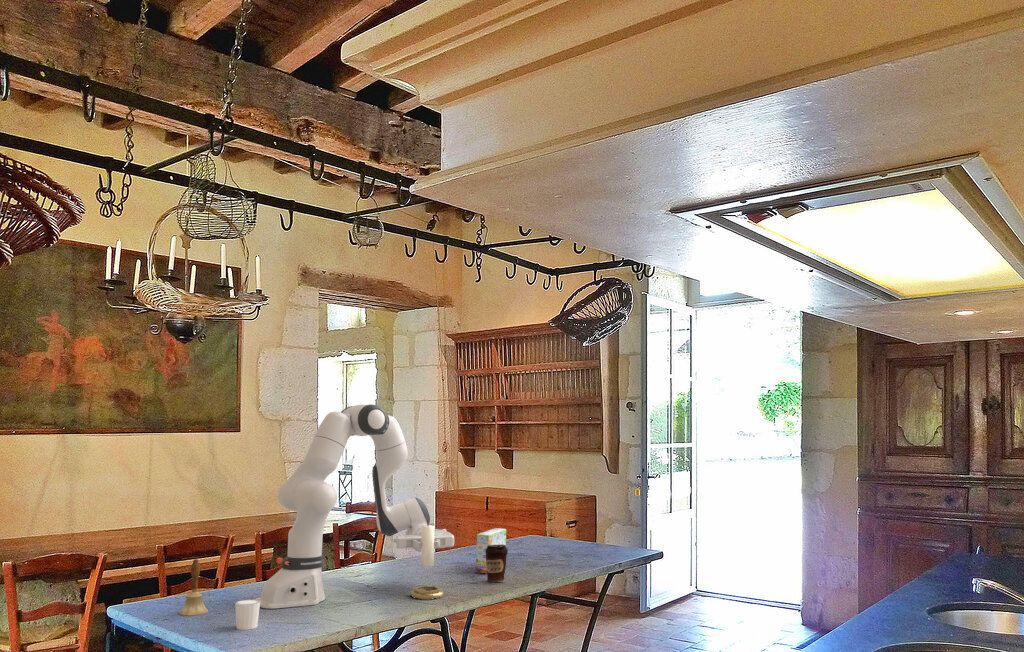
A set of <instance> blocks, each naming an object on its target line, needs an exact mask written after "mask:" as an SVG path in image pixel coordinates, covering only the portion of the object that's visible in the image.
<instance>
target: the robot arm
mask: <svg viewBox="0 0 1024 652" xmlns="http://www.w3.org/2000/svg"><path fill="white" fill-rule="evenodd" d="M353 436H357V437H365V436H369V437H370V438H371V439H372V441H373V445H374V448H375V452H376V462H375V464H374V465H373V466H372V472H371V473H372V484H373V485H372V486H373V492H374V502H375V503H374V504H375V510H376V521H375V522H376V526H377V529H378V531H379V532H380V534H382V535H384V536H386V537H393V536H394V535H396V534H398V533H400V532H402V531H405V535H404V534H403V535H402V534H401V535H397V536H396V538H394V539H393V540H392V541H393V543H395V549H413V550H415V552H419V553H421V547H422V542H421V530H422V526H426V525H427V524H429V525H430V523H431V517H430V513H429V509H428V507H427V505H426V504H425V502H424V501H423V500H422V499H420V498H418V497H416V496H415V497H412V498H408V499H407V500H404V501H401V502H399V503H397V504H393V505H391V506H390V505H389V506H388V502H387V492H386V484H387V481H388V480H389V479H390V478H391V477H392V476H393V475H394V474H395V473H397V472H398V471H399V470H400V469H401V468H402V467H403V466H404V465H405V463H406V461H407V460H408V456H409V451H408V446H407V443H406V438H405V436H404V432H403V431H402V428H401V426H400V423H399V422H398V421H397V419H396V418H395V417H394V416H393V415H388V414H387V413H386V412H385V410H384V409H383V408H382V407H381V406H378V405H377V404H372V403H371V404H370V403H369V404H357V405H352V406H351V405H350V406H348V407H345V408H344V409H343V410H341V411H331V412H329V413H327V414H326V416H325V417H324V418H323V419H322V421H321V423H320V424H319V426H318V428H317V430H316V433H315V434H314V437H313V438H312V441H311V443H310V445H309V447H308V450H307V452H306V455H305V456H304V458H303V460H302V461H301V463H300V464H299V466H298V467H297V468H296V470H295V471H294V472H293V474H292V475H291V476H290V477H289V478H288V479H286V481H284V482H283V483H281V485H280V486H279V488H278V491H277V500H278V502H279V503H280V505H281V506H282V507H284V508H285V509H287V510H289V511H291V512H296V517H295V521H294V524H293V526H292V527H291V528H290V529H289V531H288V535H287V536H288V537H287V555H286V556H285V557H284V558H283V557H280V556H279V557H277V558H276V561H275V562H276V564H278V565H281V568H280V569H279V570H278V571H277V572H275V574H273V575H272V576H271V577H270V578H269V579H267V580H266V581H265V582H264V584H263V586H262V590H261V596H260V597H256V598H254V600H259V601H260V608H263V609H270V610H271V609H272V610H274V609H281V608H283V609H285V608H293V607H302V606H303V607H304V606H306V607H307V606H314V605H315V606H316V605H318V604H319V603H320V602H322V601H324V600H326V594H325V592H324V584H323V573H322V572H323V569H324V554H322V553H323V535H324V528H325V525H326V522H327V518H328V516H329V513H330V512H331V511H332V510H333V509H334V508H335V506H336V504H337V499H338V494H337V491H336V489H335V487H334V486H332V485H331V484H330V483H327V482H325V480H326V478H328V477H329V476H330V475H331V474H332V473H334V472H335V470H336V469H337V467H338V464H339V463H340V461H341V458H342V455H343V452H344V450H345V448H346V446H347V443H348V440H349V438H350V437H353ZM454 546H455V535H454V534H452V533H451V532H450V531H447V528H438V527H434V550H437V549H444V548H452V547H454Z"/></svg>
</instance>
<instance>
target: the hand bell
mask: <svg viewBox="0 0 1024 652" xmlns="http://www.w3.org/2000/svg"><path fill="white" fill-rule="evenodd" d="M199 562H200V561H199V559H198V558H195V559H193V561H192V564H191V568H190V576H191V581H192V582H191V583H192V584H191V586H192V587H191V592H189V593H188V594H187V595H186V599H185V603H184V605H183V607H182V608H181V610H180V611H179V613H178V614H179V615H180V616H183V617H192V616H193V617H195V616H201V615H205V614H208V612H209V610H208V608H206V605H205V604H204V599H203V593H200V592H199V590H198V589H199V587H198V586H199V585H198V584H199V578H200V573H201V565H200V563H199Z"/></svg>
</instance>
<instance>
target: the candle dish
mask: <svg viewBox="0 0 1024 652" xmlns="http://www.w3.org/2000/svg"><path fill="white" fill-rule="evenodd" d="M441 588H442V587H439V586H435V585H434V586H433V585H422V586H416V587H415V588H414V589H413V590H411V591H410V597H411V596H412V597H415V598H419V599H418V600H420V599H432V598H438V597H442V596H443V595H445V593H444V592H445V591H444V590H443V589H441ZM412 597H411V598H412ZM443 597H444V596H443ZM443 597H442V598H443ZM432 600H433V599H432Z"/></svg>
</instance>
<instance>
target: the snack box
mask: <svg viewBox="0 0 1024 652" xmlns="http://www.w3.org/2000/svg"><path fill="white" fill-rule="evenodd" d="M488 545H506V546H507V529H506V528H497V527H495V528H492V529H489V530H486V531H483V532H480V533H477V534H476V554H475V555H476V557H475V558H476V559H475V561H476V562H475V573H476V574H480V573H485V574H484V575H487V566H486V552H485V550H486V548H487V546H488Z"/></svg>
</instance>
